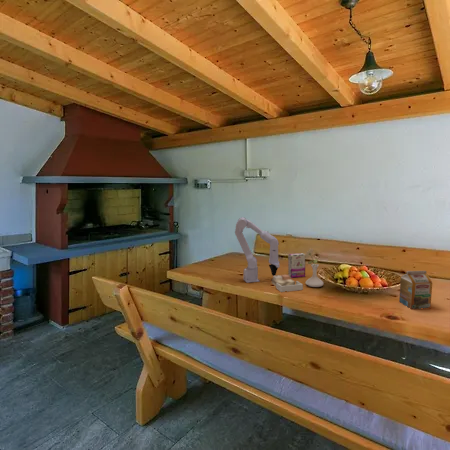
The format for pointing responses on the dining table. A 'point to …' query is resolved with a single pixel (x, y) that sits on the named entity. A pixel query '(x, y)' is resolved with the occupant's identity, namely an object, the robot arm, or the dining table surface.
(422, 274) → the milk carton
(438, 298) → the dining table surface
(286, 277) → the terracotta tile
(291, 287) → the tray
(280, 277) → the white tile
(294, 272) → the candy bar box
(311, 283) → the flower in vase
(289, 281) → the birch board
